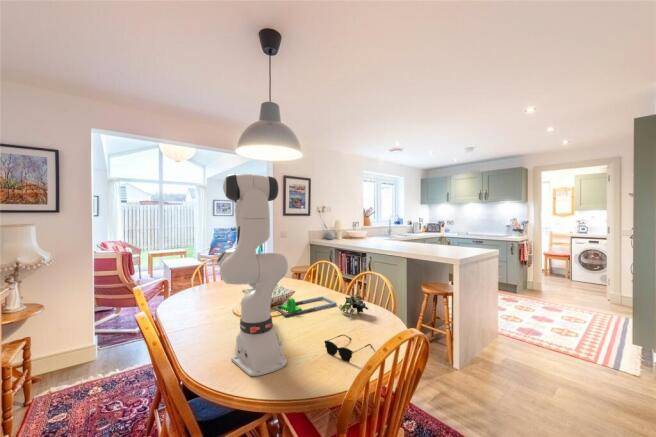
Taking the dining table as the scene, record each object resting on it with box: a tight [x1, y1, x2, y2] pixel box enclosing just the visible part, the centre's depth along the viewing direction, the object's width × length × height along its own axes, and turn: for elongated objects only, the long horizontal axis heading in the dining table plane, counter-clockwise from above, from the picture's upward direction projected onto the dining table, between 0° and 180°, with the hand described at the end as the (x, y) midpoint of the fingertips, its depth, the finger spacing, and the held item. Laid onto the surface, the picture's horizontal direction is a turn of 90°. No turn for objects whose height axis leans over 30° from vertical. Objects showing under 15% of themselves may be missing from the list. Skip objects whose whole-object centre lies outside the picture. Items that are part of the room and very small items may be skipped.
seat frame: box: [273, 300, 316, 318], centre depth 156 cm, size 16×18×1 cm
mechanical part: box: [280, 297, 303, 313], centre depth 155 cm, size 12×6×8 cm, turn 40°
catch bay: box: [301, 295, 337, 311], centre depth 165 cm, size 15×15×2 cm
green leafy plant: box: [338, 294, 369, 317], centre depth 148 cm, size 13×12×14 cm
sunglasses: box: [323, 334, 373, 363], centre depth 110 cm, size 14×16×5 cm
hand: (262, 291), depth 146 cm, fingers closed
